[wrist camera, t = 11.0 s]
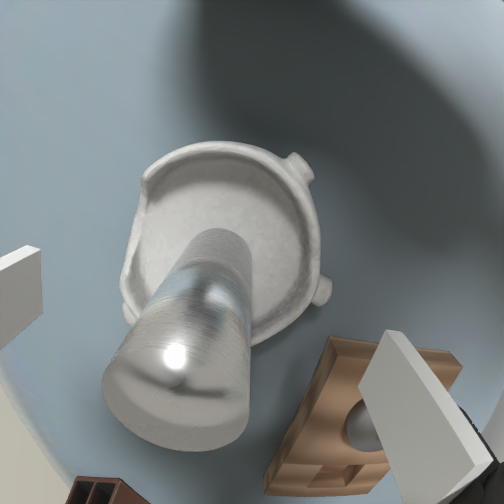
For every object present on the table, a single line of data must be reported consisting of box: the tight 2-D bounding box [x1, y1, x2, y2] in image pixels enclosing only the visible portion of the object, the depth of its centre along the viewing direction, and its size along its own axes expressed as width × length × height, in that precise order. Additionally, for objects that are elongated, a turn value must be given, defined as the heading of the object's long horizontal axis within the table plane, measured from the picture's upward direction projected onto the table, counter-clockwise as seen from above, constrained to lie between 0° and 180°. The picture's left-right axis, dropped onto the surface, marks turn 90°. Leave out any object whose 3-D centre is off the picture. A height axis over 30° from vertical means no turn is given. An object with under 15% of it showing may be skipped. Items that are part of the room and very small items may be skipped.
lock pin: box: [102, 228, 253, 452], centre depth 13 cm, size 4×4×12 cm
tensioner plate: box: [263, 336, 463, 497], centre depth 25 cm, size 22×14×6 cm, turn 167°
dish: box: [119, 141, 333, 347], centre depth 21 cm, size 14×14×5 cm
